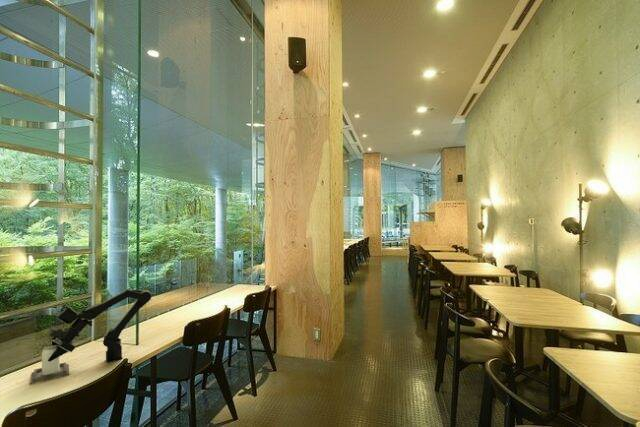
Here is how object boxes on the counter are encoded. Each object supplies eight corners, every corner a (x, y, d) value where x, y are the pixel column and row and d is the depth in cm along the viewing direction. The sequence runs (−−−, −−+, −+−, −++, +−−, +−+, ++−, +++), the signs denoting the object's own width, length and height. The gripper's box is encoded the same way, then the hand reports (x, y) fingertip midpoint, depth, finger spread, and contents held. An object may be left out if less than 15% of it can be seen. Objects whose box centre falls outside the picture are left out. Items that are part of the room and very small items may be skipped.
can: (58, 368, 159) (57, 343, 159) (61, 372, 154) (60, 347, 155) (40, 373, 154) (40, 348, 154) (43, 377, 149) (43, 351, 150)
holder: (68, 364, 164) (68, 361, 164) (69, 374, 153) (69, 370, 153) (31, 373, 155) (31, 369, 155) (29, 384, 144) (29, 380, 144)
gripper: (55, 317, 163) (26, 346, 155) (66, 324, 152) (35, 356, 143) (74, 329, 169) (47, 357, 161) (86, 336, 158) (57, 367, 149)
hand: (46, 359), depth 153 cm, fingers closed on can, 6 cm apart
